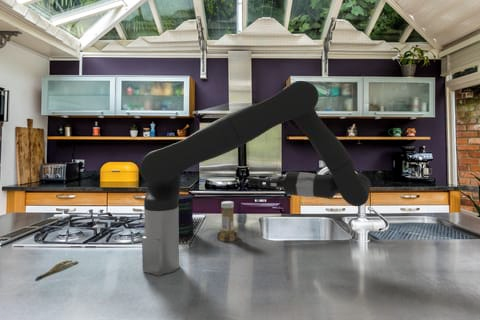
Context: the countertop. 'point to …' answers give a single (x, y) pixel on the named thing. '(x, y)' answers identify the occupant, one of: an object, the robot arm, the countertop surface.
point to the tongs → (56, 268)
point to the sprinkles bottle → (227, 217)
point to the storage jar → (185, 216)
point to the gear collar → (226, 238)
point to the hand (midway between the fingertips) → (254, 179)
